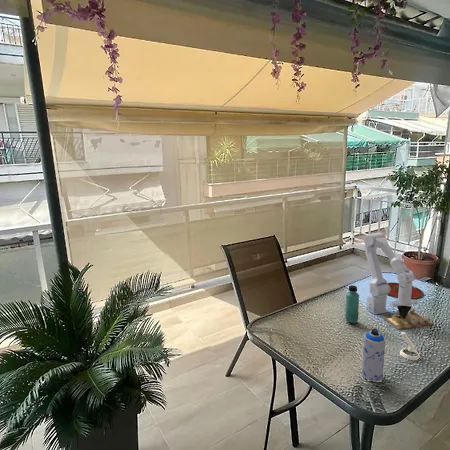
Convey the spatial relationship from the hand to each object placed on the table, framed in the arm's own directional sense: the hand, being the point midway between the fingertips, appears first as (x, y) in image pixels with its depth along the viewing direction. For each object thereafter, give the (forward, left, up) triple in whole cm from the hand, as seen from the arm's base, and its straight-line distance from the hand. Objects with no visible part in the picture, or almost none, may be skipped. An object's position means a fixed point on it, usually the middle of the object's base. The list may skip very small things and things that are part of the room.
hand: (402, 318), depth 159 cm
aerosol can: (-42, -33, -2) cm, 53 cm away
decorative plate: (+26, +33, -3) cm, 42 cm away
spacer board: (+2, 0, -2) cm, 3 cm away
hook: (-18, -25, -2) cm, 31 cm away
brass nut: (-3, 0, -1) cm, 3 cm away
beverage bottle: (-26, +6, -2) cm, 26 cm away
